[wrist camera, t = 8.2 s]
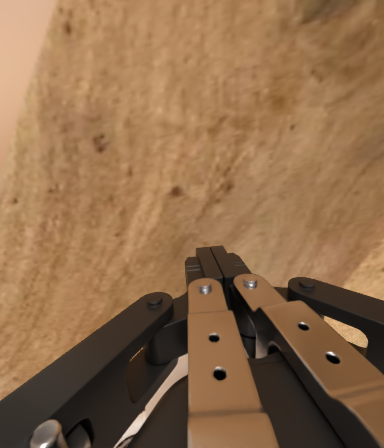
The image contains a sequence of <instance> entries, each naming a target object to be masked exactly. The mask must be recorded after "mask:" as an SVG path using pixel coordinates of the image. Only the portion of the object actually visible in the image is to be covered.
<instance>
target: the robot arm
mask: <svg viewBox="0 0 384 448" xmlns="http://www.w3.org/2000/svg"><path fill="white" fill-rule="evenodd" d="M185 272H186V285H187V292H186V293H185V294H184V295H182V296H180V297H178V298H176V299H172V297H171V296H170V295H169V294H167V293H163V292H154V293H150V294H147V295H145V296H143V297H141V298H140V299H139V300H137V301H136V302H135V303H133V304H132V305H130V306H129V307H128V308H126V309H125V310H124V311H122V312H121V313H120V314H118V315H117V316H115V317H114V318H113V319H111V320H110V321H109V322H107V323H106V324H105V325H103V326H102V327H100V328H99V329H98V330H96V331H95V332H94V333H92V334H91V335H90V336H88V337H87V338H85V339H84V340H83V341H81V342H80V343H79V344H77V345H76V346H75V347H73V348H72V349H70V350H69V351H68V352H66V353H65V354H64V355H62V356H61V357H60V358H58V359H57V360H56V361H54V362H53V363H51V364H50V365H49V366H47V367H46V368H45V369H43V370H42V371H41V372H39V373H38V374H36V375H35V376H34V377H32V378H31V379H30V380H28V381H27V382H26V383H24V384H23V385H21V386H20V387H19V388H17V389H16V390H15V391H13V392H12V393H11V394H9V395H8V396H6V397H5V398H4V399H2V400H1V401H0V448H114V447H115V445H116V444H117V443H118V441H119V440H120V439H121V438H122V436H123V435H124V434H125V432H126V431H127V430H128V428H129V427H130V426H131V425H132V423H133V422H134V421H135V419H136V418H137V417H138V415H139V414H140V413H141V411H142V410H143V409H144V408H145V406H146V405H147V404H148V402H149V401H150V400H151V398H152V397H153V396H154V395H155V393H156V392H157V391H158V389H159V388H160V387H161V385H162V384H163V383H164V382H165V380H166V379H167V378H168V376H169V375H170V374H171V372H172V371H173V370H174V368H175V367H176V366H177V363H178V358H179V357H181V356H183V355H186V354H188V374H187V375H186V376H184V377H182V378H181V379H179V380H178V381H176V382H175V383H174V384H173V385H172V386H171V387H170V388H169V389H168V390H167V391H166V392H165V393H164V394H163V396H162V397H161V398H160V400H159V401H158V403H157V404H156V406H155V407H154V409H153V410H152V411H151V413H150V414H149V416H148V417H147V419H146V420H145V422H144V423H143V425H142V426H141V428H140V429H139V430H138V432H137V433H136V435H135V436H134V438H133V439H132V441H131V442H130V444H129V445H128V447H127V448H384V301H383V300H380V299H376V298H373V297H370V296H367V295H363V294H360V293H357V292H354V291H350V290H347V289H344V288H341V287H337V286H334V285H331V284H328V283H324V282H321V281H318V280H315V279H311V278H306V277H296V278H292V279H290V280H289V282H288V288H282V287H272V286H271V285H270V284H269V283H268V282H267V281H266V280H265V279H264V278H263V277H261V276H259V275H255V274H252V273H251V272H250V270H249V269H248V268H247V266H246V265H245V264H244V262H243V261H242V259H241V258H240V257H239V256H238V255H236V254H234V253H227V252H226V250H225V249H224V247H223V246H212V247H202V248H196V257H188V258H187V259H186V261H185ZM324 315H325V316H327V317H330V318H332V319H335V320H337V321H340V322H342V323H345V324H347V325H350V326H352V327H355V328H357V329H359V330H360V331H362V332H363V333H364V334H365V335H366V337H367V339H368V346H367V348H363V347H359V346H357V345H355V344H353V343H350V342H348V341H346V340H345V339H344V338H343V337H342V336H341V335H340V334H338V333H337V332H336V331H335V330H334V329H333V328H332V327H331V326H330V325H329V324H327V323H326V322H325V321H324ZM142 347H143V349H142V350H141V351H140V352H139V353H138V354H137V355H136V356H135V357H134V358H133V359H132V360H131V358H132V357H133V356H134V355H135V354H136V353H137V352H138V351H139V350H140V349H141V348H142ZM130 360H131V361H130ZM129 361H130V362H129Z"/></svg>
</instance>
